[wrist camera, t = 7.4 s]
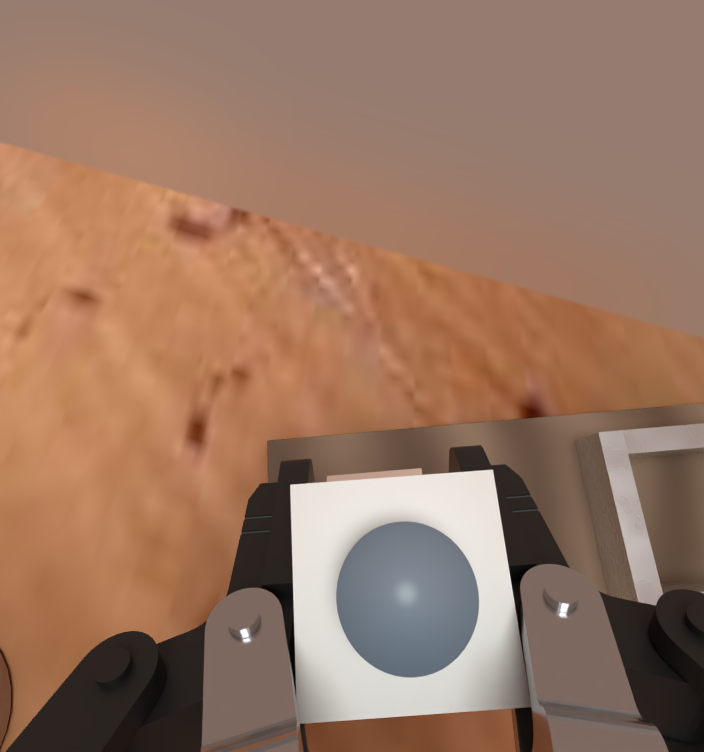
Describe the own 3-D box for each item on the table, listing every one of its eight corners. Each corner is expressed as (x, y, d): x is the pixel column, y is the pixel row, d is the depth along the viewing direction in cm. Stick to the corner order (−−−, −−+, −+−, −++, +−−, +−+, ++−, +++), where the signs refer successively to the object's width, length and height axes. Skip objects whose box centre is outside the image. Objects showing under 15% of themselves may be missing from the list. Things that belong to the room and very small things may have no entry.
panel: (279, 665, 25) (273, 674, 24) (272, 444, 29) (267, 440, 28) (801, 624, 25) (827, 630, 24) (730, 405, 29) (749, 399, 27)
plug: (330, 630, 14) (286, 753, 6) (323, 505, 15) (280, 478, 7) (450, 621, 14) (556, 733, 6) (435, 497, 15) (510, 461, 7)
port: (611, 613, 24) (647, 627, 21) (574, 441, 27) (601, 431, 24) (785, 599, 24) (848, 611, 21) (730, 428, 27) (779, 416, 24)
